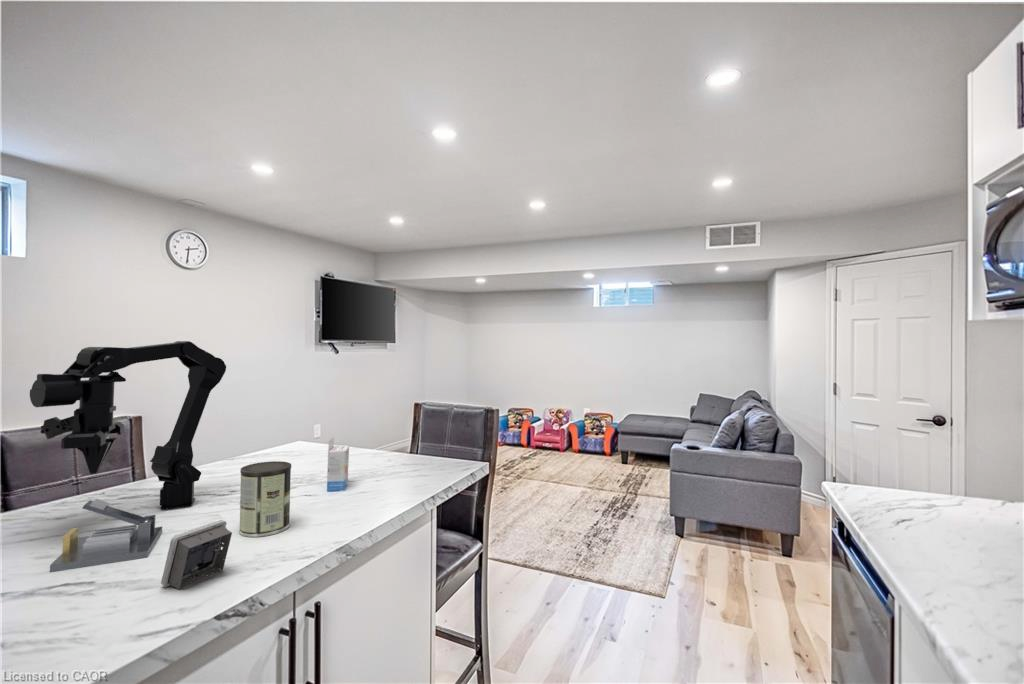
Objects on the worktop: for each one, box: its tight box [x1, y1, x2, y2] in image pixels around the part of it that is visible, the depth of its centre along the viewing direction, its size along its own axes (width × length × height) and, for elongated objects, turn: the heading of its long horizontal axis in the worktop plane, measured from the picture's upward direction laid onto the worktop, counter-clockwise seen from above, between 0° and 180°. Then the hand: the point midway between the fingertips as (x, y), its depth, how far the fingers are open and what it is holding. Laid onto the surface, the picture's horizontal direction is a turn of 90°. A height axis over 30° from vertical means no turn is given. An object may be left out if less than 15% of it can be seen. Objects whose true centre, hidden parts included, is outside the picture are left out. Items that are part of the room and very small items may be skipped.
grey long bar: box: [82, 498, 153, 526], centre depth 93 cm, size 12×3×2 cm, turn 117°
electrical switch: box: [160, 519, 233, 591], centre depth 82 cm, size 9×5×9 cm, turn 158°
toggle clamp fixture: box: [49, 514, 163, 573], centre depth 93 cm, size 14×14×5 cm
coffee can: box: [238, 460, 292, 538], centre depth 105 cm, size 10×10×14 cm
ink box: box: [326, 435, 350, 492], centre depth 138 cm, size 8×5×15 cm, turn 13°
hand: (94, 473), depth 103 cm, fingers closed
